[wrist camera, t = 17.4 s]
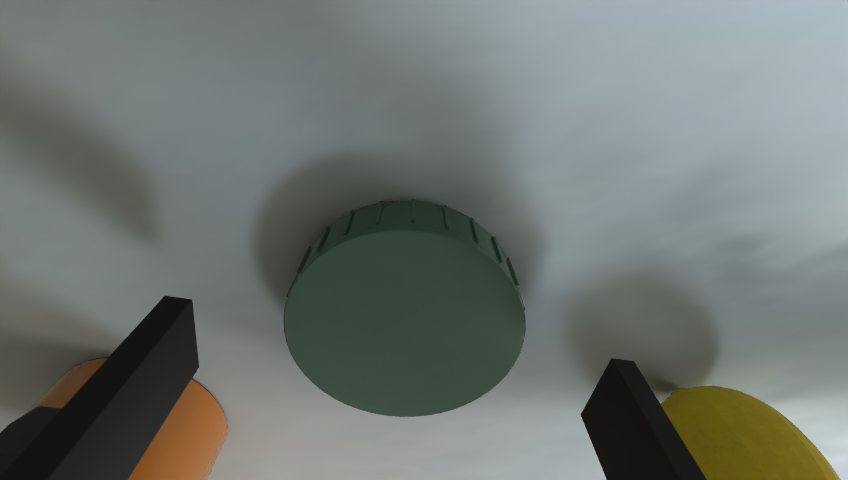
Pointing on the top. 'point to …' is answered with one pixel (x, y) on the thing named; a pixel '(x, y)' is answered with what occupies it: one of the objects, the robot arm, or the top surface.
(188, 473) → the jam jar
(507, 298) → the jar lid
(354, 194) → the top surface
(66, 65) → the top surface
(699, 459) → the lemon
